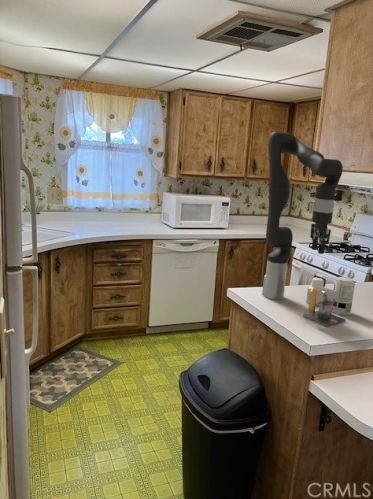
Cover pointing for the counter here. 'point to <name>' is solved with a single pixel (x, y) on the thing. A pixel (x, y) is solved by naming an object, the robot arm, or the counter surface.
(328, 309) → the grey stand with base
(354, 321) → the counter surface
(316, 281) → the medicine bottle
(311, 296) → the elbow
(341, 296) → the supplement can
